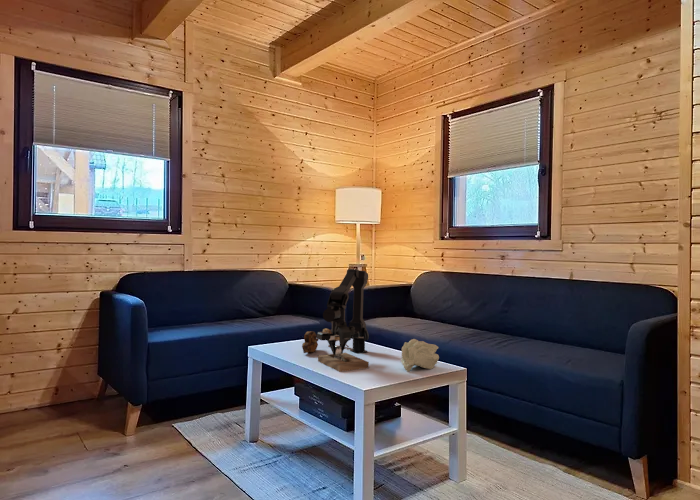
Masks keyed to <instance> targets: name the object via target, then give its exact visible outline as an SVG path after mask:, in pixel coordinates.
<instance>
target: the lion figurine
mask: <svg viewBox="0 0 700 500" xmlns="http://www.w3.org/2000/svg"><path fill="white" fill-rule="evenodd" d="M330 330H331V329H329V328H323V329H322V332H327V333H331V332H330ZM335 340H337V341H336V342H339V343H340V340H339V337H335ZM328 347H329V348H331V347H330V345H329V344H328ZM345 347H347V348H350V346H349V345H348V344H347V343H346V345H345Z"/></svg>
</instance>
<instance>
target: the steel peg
mask: <svg viewBox="0 0 700 500" xmlns="http://www.w3.org/2000/svg"><path fill="white" fill-rule="evenodd" d="M341 349H342V346H340V344H337V345H336V344H335V355H334V358H337V359H339V360H342V361H343V359H342V358H341Z"/></svg>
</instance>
